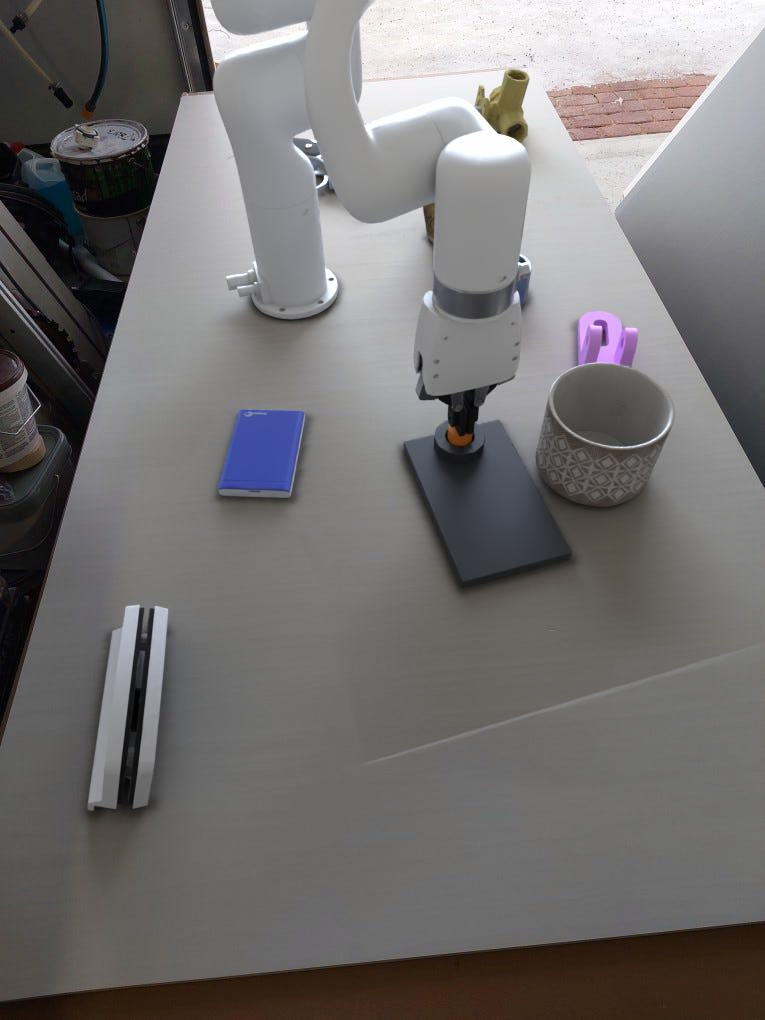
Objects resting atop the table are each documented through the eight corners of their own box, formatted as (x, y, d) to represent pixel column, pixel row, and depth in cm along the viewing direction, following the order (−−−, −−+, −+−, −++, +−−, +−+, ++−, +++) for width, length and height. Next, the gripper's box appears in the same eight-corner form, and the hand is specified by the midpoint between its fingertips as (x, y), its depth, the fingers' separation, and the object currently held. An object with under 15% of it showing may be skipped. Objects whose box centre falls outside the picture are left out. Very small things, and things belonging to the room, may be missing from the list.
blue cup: (485, 316, 96) (488, 286, 92) (467, 286, 101) (469, 255, 97) (534, 306, 97) (540, 275, 93) (514, 276, 102) (518, 246, 98)
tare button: (452, 449, 78) (453, 438, 77) (444, 432, 80) (444, 421, 78) (475, 443, 78) (476, 433, 77) (466, 426, 80) (467, 416, 79)
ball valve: (509, 118, 134) (460, 115, 132) (525, 60, 125) (472, 56, 124) (525, 153, 127) (473, 150, 125) (542, 94, 119) (486, 90, 117)
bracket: (624, 385, 87) (638, 341, 82) (579, 382, 88) (590, 338, 82) (618, 320, 95) (631, 276, 89) (576, 318, 96) (587, 274, 90)
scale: (461, 589, 70) (463, 573, 68) (402, 447, 82) (402, 430, 80) (570, 559, 72) (575, 543, 69) (496, 425, 84) (499, 407, 81)
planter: (664, 503, 76) (696, 439, 68) (553, 520, 75) (572, 457, 67) (622, 422, 83) (645, 355, 75) (520, 436, 82) (533, 370, 74)
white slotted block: (112, 635, 68) (115, 582, 61) (162, 637, 69) (171, 586, 62) (87, 814, 58) (86, 777, 50) (146, 813, 59) (154, 776, 52)
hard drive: (238, 408, 85) (217, 487, 77) (304, 410, 84) (289, 489, 77) (240, 417, 86) (220, 496, 78) (305, 419, 85) (291, 498, 78)
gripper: (533, 248, 66) (511, 390, 81) (383, 278, 64) (388, 418, 79) (567, 293, 62) (537, 435, 76) (407, 326, 60) (408, 466, 74)
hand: (461, 426), depth 77 cm, fingers closed
